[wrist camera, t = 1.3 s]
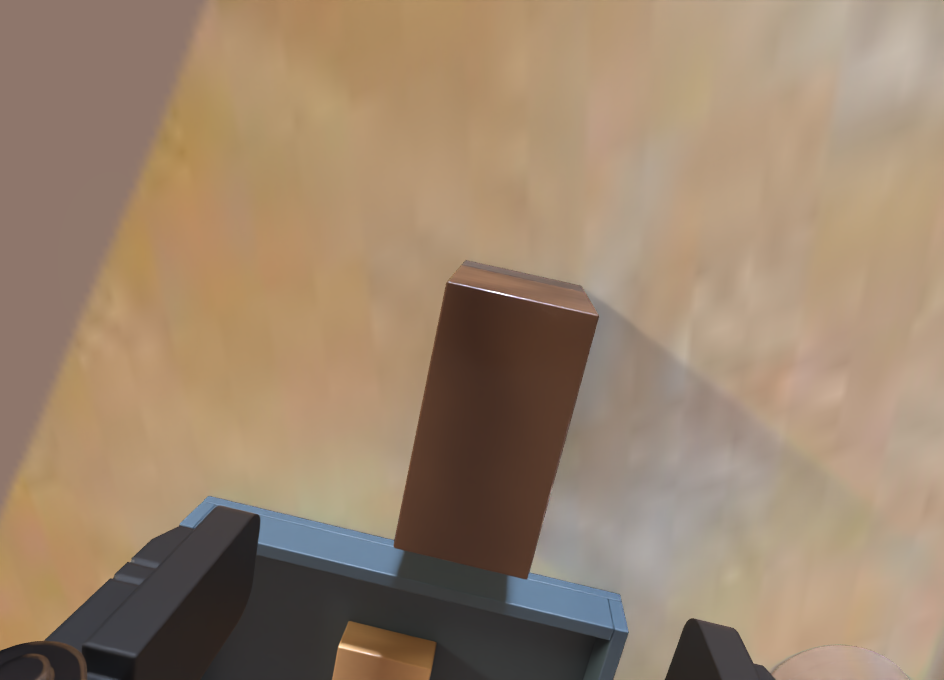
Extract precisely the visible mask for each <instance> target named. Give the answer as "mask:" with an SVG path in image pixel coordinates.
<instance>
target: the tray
mask: <svg viewBox="0 0 944 680" xmlns="http://www.w3.org/2000/svg"><path fill="white" fill-rule="evenodd" d="M219 505H221V506H226V507H230V508H234V509H238V510H242V511H247V512H251V513H255V514H259V516H260V520H261V521H260V532H259V539H258V546H257V554H256V561H255V568H254V576H253V583H252V588H251V593H250V596H249V599H248V602H247V605H246V607H245V610H244V612H243V614H242V616H241V618H240V620H239V622H238V623H237V625H236V626H235V628H234V629H233V631H232V632H231V634H230V635H229V637H228V638H227V640H226V641H225V643H224V645H223V646H222V648H221V649H220V651H219V652H218V654H217V655H216V657H215V658H214V660H213V661H212V663H211V664H210V666H209V667H208V669H207V670H206V672H205V673H204V675H203V676H202V678H201V679H200V680H332V677H333V672H334V666H335V661H336V656H337V650H338V646H339V643H340V641H341V639H342V636H343V634H344V631H345V629H346V626H347V624H348V622H349V621H352V622H356V623H360V624H364V625H368V626H372V627H377V628H381V629H385V630H389V631H393V632H397V633H401V634H405V635H409V636H413V637H418V638H422V639H426V640H430V641H434V642H437V646H436V651H435V656H434V661H433V667H432V671H431V676H430V680H613V678H614V675H615V672H616V669H617V666H618V663H619V660H620V657H621V654H622V651H623V648H624V645H625V642H626V639H627V636H628V633H629V631H628V627H627V623H626V619H625V614H624V610H623V606H622V603H621V602H622V601H621V597H620V594H616V593H612V592H608V591H604V590H600V589H595V588H591V587H587V586H583V585H579V584H575V583H570V582H566V581H562V580H558V579H554V578H549V577H545V576H541V575H537V574H533V573H529V576H528V578H527V579H521V578H517V577H513V576H509V575H505V574H501V573H496V572H492V571H488V570H484V569H480V568H475V567H471V566H467V565H463V564H459V563H455V562H450V561H446V560H442V559H438V558H434V557H430V556H425V555H421V554H417V553H413V552H409V551H405V550H400V549H396V548H394V546H393V545H394V540H391V539H386V538H382V537H378V536H374V535H370V534H366V533H361V532H357V531H353V530H349V529H345V528H340V527H336V526H332V525H328V524H324V523H320V522H315V521H311V520H307V519H303V518H299V517H294V516H290V515H286V514H282V513H278V512H274V511H269V510H265V509H261V508H257V507H253V506H248V505H244V504H240V503H236V502H232V501H228V500H223V499H219V498H215V497H211V496H208V497H207V498H206V499H205V500H204V501H203V502H202V503H201V504H200V505H199V506H198V507H197V508H196V509H195V510H194V511H193V512H191V513H190V514H189V515H188V516H187V517H186V518H185V519H184V520H183V521H182V522H181V523H180V525H179V526H184V527H188V528H192V529H194V528H195V527H196V526H197V525H198V524H199V523H200V522H201V521H202V520H203V519H204V518H205V517H206V516H207V515H208V514H209V513H210V512H211V511H212V510H213V509H214V508H215V507H217V506H219Z"/></svg>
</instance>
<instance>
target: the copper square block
mask: <svg viewBox="0 0 944 680" xmlns="http://www.w3.org/2000/svg"><path fill="white" fill-rule="evenodd" d="M436 646H437V642H434V641H430V640H426V639H422V638H418V637H413V636H409V635H405V634H401V633H397V632H393V631H389V630H385V629H381V628H377V627H372V626H368V625H364V624H360V623H356V622H352V621H349V622H348V624H347V626H346V629H345V631H344V634H343V636H342V639H341V641H340V643H339V646H338V650H337V656H336V661H335V666H334V672H333V677H332V680H430V676H431V671H432V667H433V661H434V656H435V651H436Z"/></svg>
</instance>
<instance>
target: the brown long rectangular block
mask: <svg viewBox="0 0 944 680" xmlns="http://www.w3.org/2000/svg"><path fill="white" fill-rule="evenodd" d="M598 318H599V315H598V313H597V312H596V310H595V308H594V307H593V305H592V303H591V301H590V300H589V298H588V296H587V295H586V293H585V291H584V289H583V288H582V286H580V285H575V284H571V283H566V282H562V281H557V280H553V279H548V278H544V277H539V276H535V275H530V274H526V273H521V272H517V271H512V270H508V269H503V268H499V267H494V266H490V265H485V264H481V263H476V262H472V261H467V260H466V261H465V262H464V263H463V264H462V265H461V266H460V267H459V268H458V270H457V271H456V272H455V273H454V274H453V275H452V277H451V278H450V279H449V280H448V281H447V283H446V287H445V292H444V297H443V302H442V307H441V312H440V317H439V322H438V327H437V332H436V337H435V342H434V347H433V352H432V357H431V361H430V366H429V371H428V376H427V381H426V386H425V391H424V396H423V401H422V406H421V411H420V416H419V421H418V426H417V431H416V436H415V441H414V446H413V451H412V456H411V461H410V466H409V471H408V476H407V481H406V485H405V490H404V495H403V500H402V505H401V510H400V515H399V520H398V525H397V530H396V535H395V540H394V545H393V546H394V548H396V549H400V550H405V551H409V552H413V553H417V554H421V555H425V556H430V557H434V558H438V559H442V560H446V561H450V562H455V563H459V564H463V565H467V566H471V567H475V568H480V569H484V570H488V571H492V572H496V573H501V574H505V575H509V576H513V577H517V578H521V579H527V578H528V576H529V572H530V568H531V565H532V561H533V557H534V554H535V550H536V546H537V543H538V539H539V535H540V532H541V528H542V524H543V521H544V517H545V513H546V509H547V506H548V502H549V498H550V495H551V491H552V487H553V484H554V480H555V476H556V473H557V469H558V465H559V462H560V458H561V454H562V451H563V447H564V443H565V440H566V436H567V432H568V429H569V425H570V421H571V418H572V414H573V410H574V407H575V403H576V399H577V396H578V392H579V388H580V385H581V381H582V377H583V373H584V370H585V366H586V362H587V359H588V355H589V351H590V348H591V344H592V340H593V337H594V333H595V329H596V326H597V322H598Z"/></svg>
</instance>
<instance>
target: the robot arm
mask: <svg viewBox="0 0 944 680" xmlns="http://www.w3.org/2000/svg"><path fill="white" fill-rule="evenodd" d="M260 521H261V520H260V516H259V514H255V513H251V512H247V511H242V510H238V509H234V508H230V507H226V506H221V505H219V506H217V507H215V508H214V509H213V510H212V511H211V512H210V513H209V514H208V515H207V516H206V517H205V518H204V519H203V520H202V521H201V522H200V523H199V524H198V525H197V526H196V527H195V528H194V529H192V528H188V527H184V526H179V527H177V528H174V529H172V530H170V531H168V532H166V533H164V534H162V535H160V536H158V537H156V538H154V539H152V540H151V541H150V542H149V543H147V544H146V545H145V546H144V547H143V548H142V549H141V550H140V551H139V552H138V553H137V554H136V555H135V556H134V557H133V558H132V560H131V562H127V563H126V564H125V565H124V566H123V567H122V568H121V569H120V570H119V571H118V572H117V573H116V574H115V576H114V578H113V579H111V578H110V579H109V580H108V581H107V582H106V583H105V584H104V585H103V586H102V587H101V588H100V589H99V590H97V591H96V592H95V593H94V594H93V595H92V596H91V597H90V598H89V599H88V600H87V601H86V602H85V603H84V604H83V605H82V606H80V607H79V608H78V609H77V610H76V611H75V612H74V613H73V614H72V615H71V616H70V617H69V618H68V619H67V620H66V621H65V622H63V623H62V624H61V625H60V626H59V627H58V628H57V629H56V630H55V631H54V632H53V633H52V634H51V635H50V636H49V637H47V638H46V639H45V640H44V641H35V642H29V643H23V644H19V645H16V646H12V647H9V648H7V649H4V650H1V651H0V680H200V679H201V678H202V676H203V675H204V673H205V672H206V670H207V669H208V667H209V666H210V664H211V663H212V661H213V660H214V658H215V657H216V655H217V654H218V652H219V651H220V649H221V648H222V646H223V645H224V643H225V641H226V640H227V638H228V637H229V635H230V634H231V632H232V631H233V629H234V628H235V626H236V625H237V623H238V622H239V620H240V618H241V616H242V614H243V612H244V610H245V607H246V605H247V602H248V599H249V596H250V593H251V588H252V583H253V576H254V568H255V561H256V554H257V546H258V539H259V532H260ZM665 680H776V679H775V678H774V677H773V676H772V675H771V674H770V673H769V672H768V671H767V669H766V668H765V667H764V666H762V665H757V664H753V662H752V660H751V658H750V656H749V654H748V652H747V650H746V647H745V645H744V643H743V641H742V639H741V637H740V635H739V634H738V632H737V631H736V630H735V629H734V628H731V627H727V626H723V625H719V624H714V623H710V622H706V621H702V620H697V619H693V618H692V619H689V620H688V621H687V622H686V624H685V626H684V628H683V631H682V634H681V637H680V639H679V642H678V645H677V648H676V651H675V653H674V656H673V659H672V662H671V665H670V667H669V670H668V673H667V676H666V678H665Z"/></svg>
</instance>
